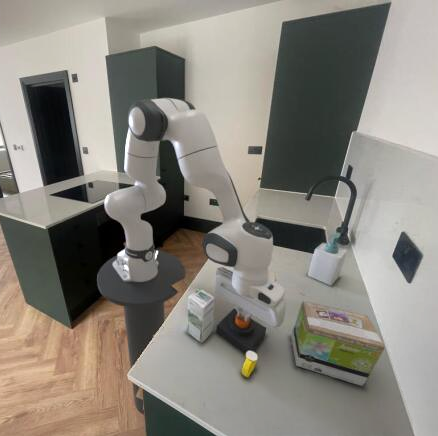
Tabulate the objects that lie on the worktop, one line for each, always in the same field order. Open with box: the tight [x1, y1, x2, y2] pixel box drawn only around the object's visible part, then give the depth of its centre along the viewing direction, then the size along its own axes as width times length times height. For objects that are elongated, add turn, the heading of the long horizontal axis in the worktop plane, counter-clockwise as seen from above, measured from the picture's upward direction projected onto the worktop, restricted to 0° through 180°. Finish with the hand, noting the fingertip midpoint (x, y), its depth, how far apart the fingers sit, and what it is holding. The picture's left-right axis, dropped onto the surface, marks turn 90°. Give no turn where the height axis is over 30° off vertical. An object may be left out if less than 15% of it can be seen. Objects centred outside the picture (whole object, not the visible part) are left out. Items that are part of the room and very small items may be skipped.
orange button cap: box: [235, 314, 251, 329], centre depth 69 cm, size 4×4×2 cm
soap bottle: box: [307, 232, 348, 287], centre depth 92 cm, size 9×9×19 cm
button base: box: [215, 307, 267, 356], centre depth 70 cm, size 11×10×5 cm
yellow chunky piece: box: [241, 350, 259, 378], centre depth 59 cm, size 6×3×6 cm, turn 135°
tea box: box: [290, 300, 386, 387], centre depth 60 cm, size 15×10×15 cm, turn 70°
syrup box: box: [186, 287, 216, 344], centre depth 69 cm, size 6×6×14 cm
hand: (243, 318), depth 68 cm, fingers closed
